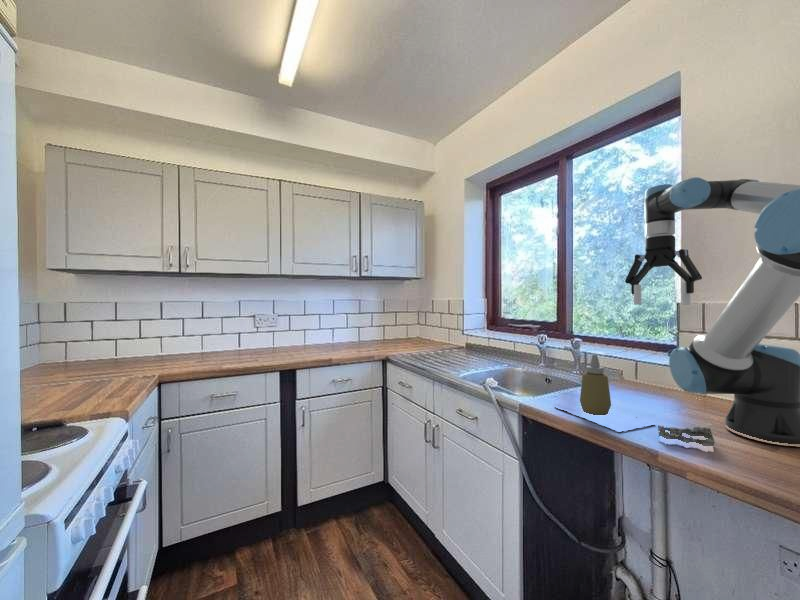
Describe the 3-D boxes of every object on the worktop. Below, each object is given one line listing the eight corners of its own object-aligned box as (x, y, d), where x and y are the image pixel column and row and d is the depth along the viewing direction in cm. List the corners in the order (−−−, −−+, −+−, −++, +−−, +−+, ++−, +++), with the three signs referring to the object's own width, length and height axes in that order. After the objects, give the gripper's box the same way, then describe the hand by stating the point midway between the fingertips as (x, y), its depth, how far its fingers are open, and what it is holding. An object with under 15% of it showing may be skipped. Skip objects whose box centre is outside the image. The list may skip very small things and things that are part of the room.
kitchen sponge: (713, 445, 83) (713, 428, 83) (715, 456, 77) (715, 438, 77) (658, 434, 90) (658, 418, 90) (656, 444, 84) (656, 427, 84)
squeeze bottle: (595, 421, 97) (594, 357, 97) (573, 412, 105) (573, 353, 105) (618, 418, 99) (617, 355, 99) (595, 409, 107) (594, 351, 107)
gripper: (716, 230, 98) (717, 304, 98) (626, 243, 121) (627, 304, 121) (702, 228, 95) (703, 305, 95) (612, 242, 117) (613, 304, 117)
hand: (660, 304), depth 108 cm, fingers open, 13 cm apart
